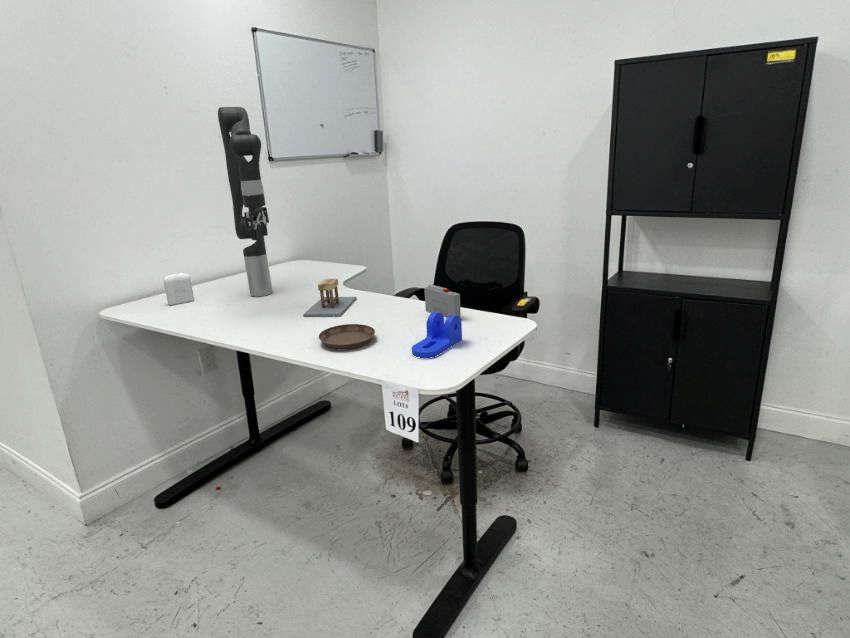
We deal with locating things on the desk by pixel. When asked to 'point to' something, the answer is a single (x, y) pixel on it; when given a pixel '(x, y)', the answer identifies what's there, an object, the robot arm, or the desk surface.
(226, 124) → the robot arm
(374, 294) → the desk surface
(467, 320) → the desk surface
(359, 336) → the plant saucer
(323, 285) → the oak stool
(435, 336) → the bracket
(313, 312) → the grey mat
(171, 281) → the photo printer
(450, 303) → the cassette player
